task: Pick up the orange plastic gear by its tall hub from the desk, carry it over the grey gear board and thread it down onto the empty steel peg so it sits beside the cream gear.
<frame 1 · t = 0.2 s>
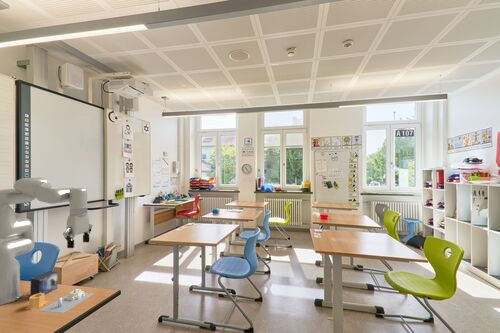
hand: (78, 245, 122), 31 cm above the table, fingers open, 9 cm apart
gear board: (68, 303, 122), on the table
small box: (44, 293, 134), on the table
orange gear: (36, 307, 119), on the table
cream gear: (75, 297, 127), resting on gear board
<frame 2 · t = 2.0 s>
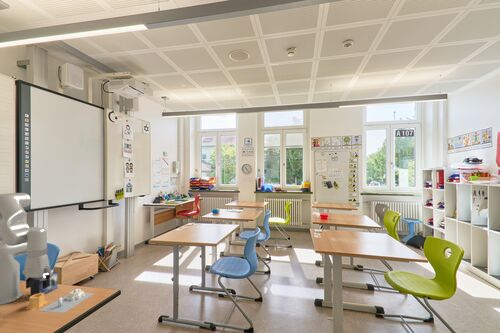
hand: (38, 287, 119), 10 cm above the table, fingers open, 9 cm apart
nothing on the table moved.
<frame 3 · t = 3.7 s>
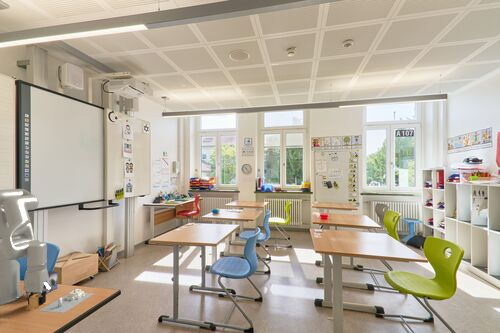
hand: (36, 303, 119), 2 cm above the table, fingers closed on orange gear, 5 cm apart
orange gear: (36, 307, 119), on the table, touching gripper
everything else where it was.
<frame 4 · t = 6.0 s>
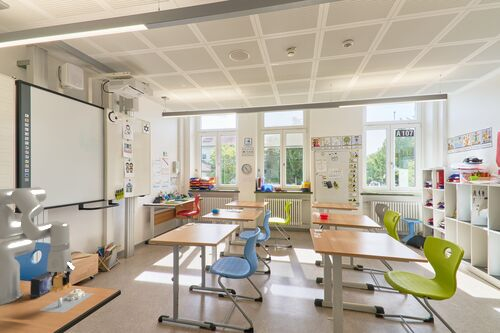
hand: (60, 283, 118), 13 cm above the table, fingers closed on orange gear, 5 cm apart
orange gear: (60, 288, 118), point 10 cm above the table, touching gripper
everything else where it was.
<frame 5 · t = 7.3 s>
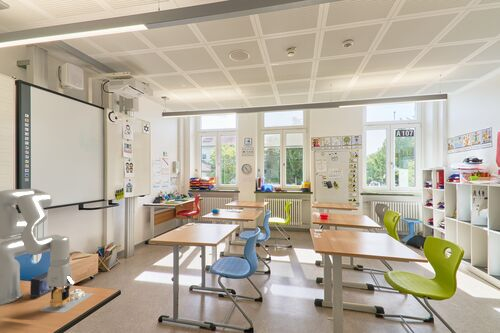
hand: (60, 298, 118), 5 cm above the table, fingers closed on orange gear, 5 cm apart
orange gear: (60, 302, 118), point 3 cm above the table, touching gripper
everything else where it was.
when the fingers open (5 cm above the table, at t = 8.4 s): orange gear drops 1 cm, resting on gear board.
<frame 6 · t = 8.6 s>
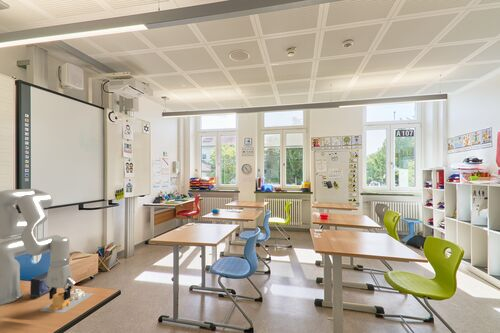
hand: (60, 298, 118), 5 cm above the table, fingers open, 7 cm apart
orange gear: (59, 306, 118), point 1 cm above the table, touching gear board
everything else where it was.
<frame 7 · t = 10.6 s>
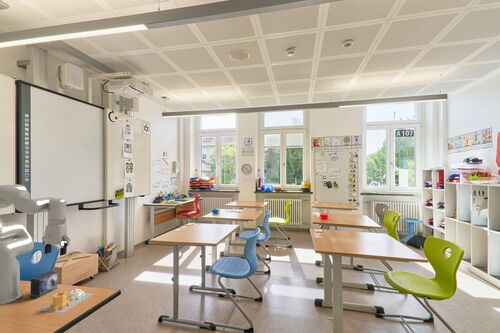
hand: (55, 253, 126), 25 cm above the table, fingers open, 9 cm apart
nothing on the table moved.
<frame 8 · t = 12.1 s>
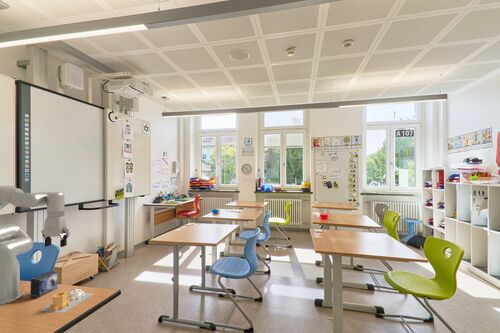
hand: (55, 246, 129), 28 cm above the table, fingers open, 9 cm apart
nothing on the table moved.
at the end: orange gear 0.1 cm from the target spot on the gear board, point 1.2 cm above the gear board's base; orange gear tilted 0°; the gripper is holding nothing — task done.
